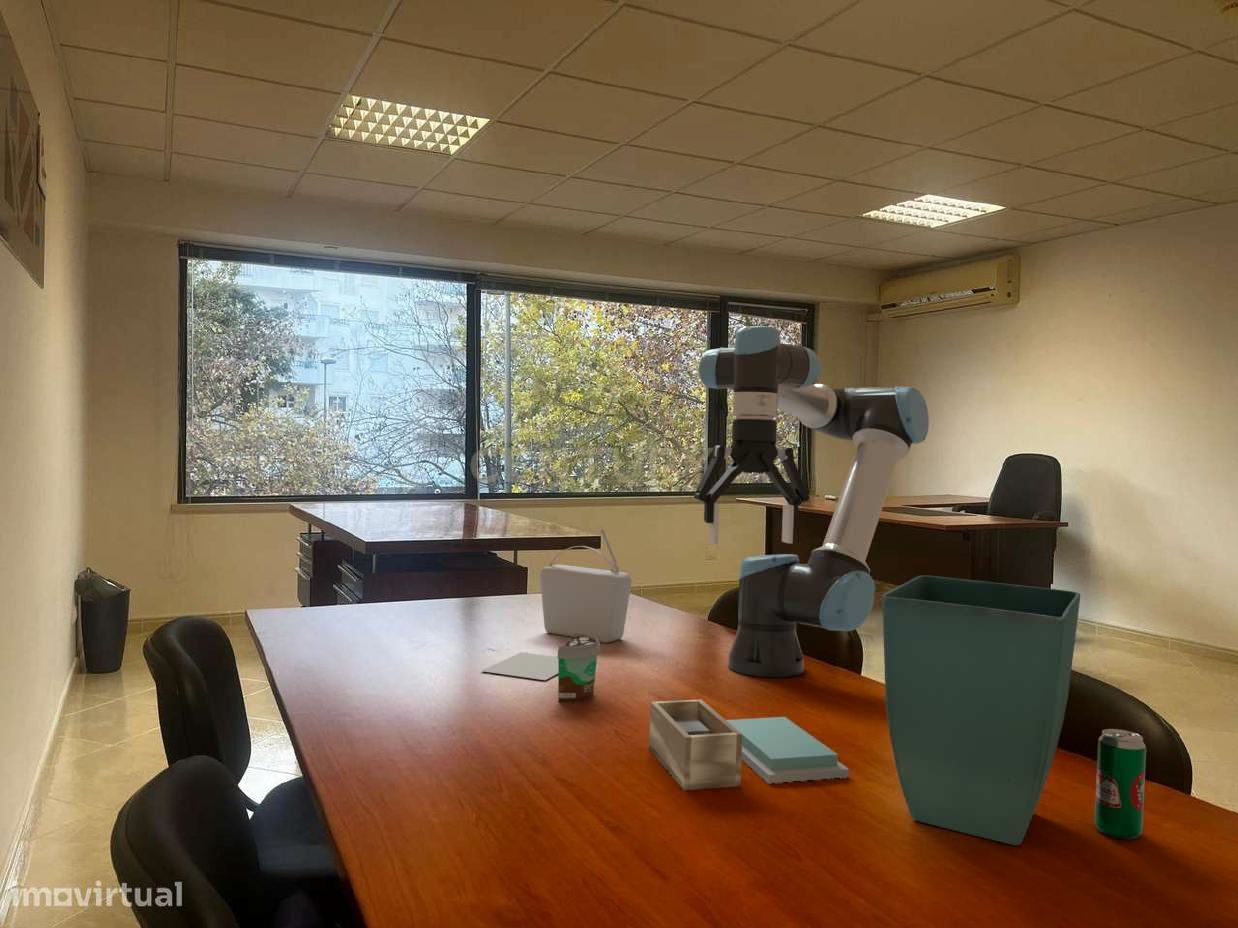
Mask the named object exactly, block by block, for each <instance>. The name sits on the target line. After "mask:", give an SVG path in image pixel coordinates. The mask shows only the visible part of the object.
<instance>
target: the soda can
mask: <svg viewBox="0 0 1238 928" xmlns="http://www.w3.org/2000/svg"><path fill="white" fill-rule="evenodd" d="M1101 733H1102V734H1101V736H1099V738H1098V741H1097V742H1098V743H1097V759H1096V760H1097V761H1096V762H1097V763H1096V780H1095V781H1096V784H1095V801H1094V803H1095V804H1094V806H1095V807H1094V825H1095V826H1096V828H1097V829H1098V831H1100V832H1101V833H1103V834H1105V835H1106V836H1108V837H1111V838H1114V839H1119V840H1125V841H1127V840H1129V841H1130V840H1136V839H1138V838H1139V837H1140V836H1141V835H1142V834H1143V827H1144V826H1143V822H1144V801H1145V782H1146V779H1145V777H1146V759H1147V746H1146V744H1145V743H1144V737H1143V736H1142V735H1140V734H1138V733H1136V732H1134V731H1129V730H1124V729H1120V728H1119V729H1118V728H1108V729H1107V728H1106V729H1103V730H1102V731H1101Z"/></svg>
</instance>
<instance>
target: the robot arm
mask: <svg viewBox="0 0 1238 928" xmlns="http://www.w3.org/2000/svg"><path fill="white" fill-rule="evenodd" d="M780 335H781V333H780V331H779V329H778V328H777V327H773V326H765V325H764V326H763V325H762V326H761V325H752V326H744V327H741V328H739V329H738V330H737V331H736V334H735V343H734V347H719V348H713V349H709V350H706V351H705V352H704V353H703V354H702V356H701V358H700V360H699V366H698V375H699V379H700V381H701V383H702V384H703V385H704V386H705V387H706V388H709V389H717V390H722V389H725V390H726V389H727V390H731V391H733V396H732V398H733V399H732V415H733V416H735V419H733V420H732V422H731V423H732V425H731V426H732V427H731V446H730V447H726V446H724V445H715V446H714V447H713V450H712V451H713V452H712V458H711V460H710V462H709V464H708V466H707V468H706V471H705V472H704V474H703V476H702V478H701V480H700V482H699V484H698V486H697V488H696V489H695V492H694V494H693V498H694V499H695V500H698V501H700V502H702V503H703V504H704V507H703V508H704V510H703V511H704V512H703V521H704V522H705V523H706V524H708V543H711V544H714V545H715V544H719V534H720V533H719V530H720V505H719V504H716V502H717V501H718V500H719V498H720V497H721V496H722V495H723V494H724V493H725V491H726V490H727V489H728V488H729V486H730V485H732V484H733V481H735V479H736V478H737V477H738V476H739V475H741V474H742V473H744V474H752V473H755V474H765V475H766V476H768V478H769V479H770V480H771V482H772V484H773V485H774V486H775V487H776V489H777V490H778V491H779V493H780V495H782V497H783V498H784V499H785V501H786V502H787V504H785V503H784V504H782V520H781V521H782V524H781V525H782V527H781V542H782V543H785V544H793V542H794V541H793V538H794V524H797V523H798V519H799V506H801V505H802V503H804V502H808V501H809V500H810V494H809V493H808V490H807V488H806V485H805V483H804V480H803V478H802V476H801V474H800V472H799V468H798V467H797V464H796V462H795V455H794V454H795V452H794V449H793V448H792V447H785V446H782V447H781V448H777V445H776V443H777V435H778V433H777V431H778V429H777V428H778V427H777V426H778V422H777V421H776V420H775V419H774V418H776V417H777V416H778V410H779V411H781V412H784V413H786V414H789V415H791V416H793V417H795V418H797V419H798V420H799V421H800V423H801V424H802V425H803V426H805V427H807V428H809V429H812V430H814V431H816V432H819V433H822V434H823V435H827V436H830V437H832V438H835V439H839V440H844V441H848V442H853V444H854V445H855V447H856V449H855V452H854V454H853V458H852V460H851V463H850V466H849V469H848V472H847V474H846V477H845V480H844V483H843V486H842V489H841V492H840V495H839V498H838V501H837V503H836V506H835V509H834V511H833V512H834V513H833V515H832V518H831V521H830V523H829V526H828V528H827V529H828V530H827V532H826V535H825V538H824V540H823V543H822V546H820V547H818V548H815V549H813V550H812V551H811V553H810V554H811V555H810V557H809V559H808V562H807V563H806V564H805V563H800V559H799V556H798V554H791V553H789V554H788V553H783V554H779V553H778V554H764V555H754V556H748V557H745V558H743V559H742V561H741V563H740V571H739V577H738V580H739V582H738V583H739V585H738V586H739V587H738V615H737V616H738V621H737V622H738V623H737V624H738V625H737V630H736V634H735V636H734V639H733V643H732V644H731V647H730V651H729V653H728V661H727V666H728V668H729V669H731V671H734V672H736V673H740V674H743V675H748V676H753V677H761V678H788V677H789V678H790V677H795V676H798V675H801V674H802V673H804V665H805V664H804V663H805V662H804V660H805V659H804V656H803V652H802V649H801V645H800V641H799V639H798V635H797V624H802V625H806V626H811V627H816V628H821V629H826V630H828V631H841V632H851V631H854V630H855V629H858V628H859V627H861V626H862V625H863V624H864V623H865V621H866V620H868V617H869V616H870V614H871V611H872V608H873V606H874V602H875V595H874V593H875V592H876V587H875V582H874V579H873V578H872V576H871V575H870V573H871V569H870V568H869V565H868V564H867V562H866V559H867V556H868V553H869V550H870V548H871V544H872V540H873V538H874V535H875V532H876V528H877V525H878V523H879V520H880V516H881V514H882V510H883V508H884V505H885V502H886V498H887V495H888V493H889V489H890V486H891V484H892V480H893V477H894V474H895V471H896V467H897V464H898V461H900V460H902V459H905V458H907V456H908V455H909V453H910V449H911V447H912V444H914V445H917V444H921V443H923V442H924V441H925V440H926V439H927V436H928V432H929V421H930V419H929V418H930V417H929V411H928V404H927V402H926V400H925V397H924V395H923V394H922V393H921V391H920V390H919V389H917V388H916V387H913V386H900V385H896V386H892V387H891V386H886V387H885V386H883V387H882V386H878V387H877V386H875V387H874V386H872V387H870V386H869V387H868V386H867V387H866V386H865V387H863V386H862V387H858V386H856V387H854V386H853V387H831V386H829V385H825V384H821V383H818V384H817V383H815V382H816V381H817V379H818V377H819V373H820V370H821V365H820V360H819V357H818V355H817V353H816V352H815V351H814V350H813V349H811V348H808V347H805V346H803V345H801V344H796V345H795V344H788V343H783V342H781V337H780ZM814 383H815V384H814ZM728 456H730V458H731V459H732V462H731V463H730V465H729V466H728V467H727V470H726V471H725V472H724V474H723V475H722V476H721V477H720V479H718V481H716V483H715V484H713V483H714V481H715V479H716V477H718V476H717V475H718V474H719V472H720V469H721V468H722V466H723V463H724V460H726V459H727V458H728ZM777 457H778V459H779V460H780V461H781V463H782V465H783V469H784V471H785V473H786V476H787V477H788V481H789V483H790V485H789V484H788V482H787V481H786V479H785V478H784V477H783V476H782V474H781V473H780V470H779V468H778V467H777V466H776V464H775V463H774V461H775V460H776V459H777ZM712 485H714V486H712Z"/></svg>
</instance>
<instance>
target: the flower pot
mask: <svg viewBox="0 0 1238 928" xmlns="http://www.w3.org/2000/svg"><path fill="white" fill-rule="evenodd" d="M1080 604H1081V593H1080V592H1078V591H1071V590H1065V589H1056V588H1048V587H1038V586H1028V585H1022V584H1021V585H1020V584H1010V583H1002V582H993V581H983V580H972V579H964V578H953V577H948V576H946V577H945V576H936V575H918V576H916V577H914V578H912V579H909V580H908V581H906V582H904V583H903V584H900V585H899V586H896V587H895V588H893V589H891V590H888V591H887V592H885V593H883V594H882V595H881V610H882V630H883V634H882V635H883V659H884V660H883V661H884V662H883V663H884V664H883V665H884V689H885V694H884V695H885V708H886V717H887V725H888V732H889V733H888V734H889V738H890V744H891V748H892V755H893V760H894V764H895V765H894V766H895V768H896V773H897V776H898V779H899V780H898V781H899V784H900V788H901V791H902V794H903V797H904V799H905V803H906V805H907V808H908V809H907V810H908V812H909V814H910V817H911V818H912V820H913V821H916V822H920V823H924V824H926V825H932V826H936V827H939V828H943V829H946V830H947V829H948V830H951V831H955V832H959V833H963V834H967V835H971V836H975V837H978V838H979V837H980V838H982V839H987V840H992V841H995V842H999V843H1004V844H1007V845H1010V846H1019V845H1021V844H1022V843H1023V840H1024V838H1025V836H1026V833H1027V830H1028V828H1029V826H1030V822H1031V821H1032V818H1033V815H1034V814H1035V811H1036V808H1037V805H1038V803H1039V800H1040V798H1041V795H1042V792H1043V790H1044V788H1045V785H1046V781H1047V779H1048V776H1049V773H1050V770H1051V767H1052V765H1053V761H1054V758H1055V754H1056V751H1057V748H1058V744H1059V741H1060V740H1059V739H1060V736H1061V731H1062V727H1063V725H1064V719H1065V715H1066V710H1067V709H1066V708H1067V704H1068V703H1067V702H1068V698H1069V692H1070V691H1069V690H1070V683H1071V676H1072V667H1073V660H1074V651H1075V643H1076V642H1075V641H1076V634H1077V626H1078V619H1079V611H1080Z"/></svg>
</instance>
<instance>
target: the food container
mask: <svg viewBox="0 0 1238 928" xmlns="http://www.w3.org/2000/svg"><path fill="white" fill-rule="evenodd" d="M601 649H602V647H601V642H599V641H598V638H597V637H595V636H593V635H589V634H585V633H577V632H575V637H573V639H571V640H569V641H567V642H566V643H565V645H563V646H562V645H558V650H557V656H556V657H557V658H558V675H557V676H558V686H557V687H558V697H557V698H558V703H578V702H577V701H581V702H584V700H585V701H588V699H589V698H591V697H592V698H593V697H594V692H595V691H594V690H595V682H596V681H595V680H596V670H597V660H598V655H600V654H601V653H602V650H601ZM592 698H591V699H592ZM589 700H590V699H589Z"/></svg>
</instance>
